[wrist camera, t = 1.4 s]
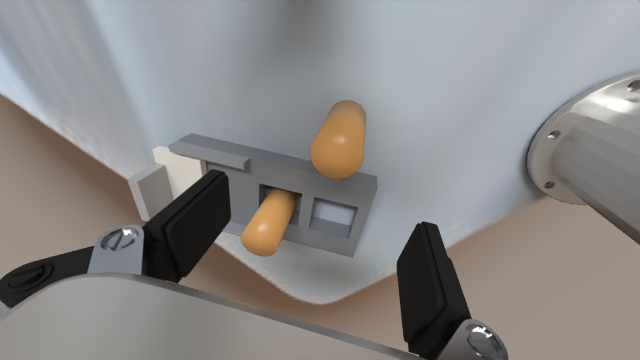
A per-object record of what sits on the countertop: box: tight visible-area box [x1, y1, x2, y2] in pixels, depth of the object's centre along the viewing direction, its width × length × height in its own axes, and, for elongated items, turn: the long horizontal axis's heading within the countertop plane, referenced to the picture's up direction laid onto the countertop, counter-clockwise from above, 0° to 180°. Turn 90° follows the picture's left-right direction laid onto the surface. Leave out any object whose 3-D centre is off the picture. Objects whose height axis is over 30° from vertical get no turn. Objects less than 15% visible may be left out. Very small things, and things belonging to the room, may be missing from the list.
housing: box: [169, 134, 377, 257], centre depth 30 cm, size 24×12×4 cm, turn 81°
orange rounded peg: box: [310, 100, 366, 179], centre depth 21 cm, size 4×4×9 cm
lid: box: [127, 146, 207, 221], centre depth 28 cm, size 6×10×5 cm, turn 171°
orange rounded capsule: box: [241, 187, 299, 256], centre depth 28 cm, size 4×4×9 cm
